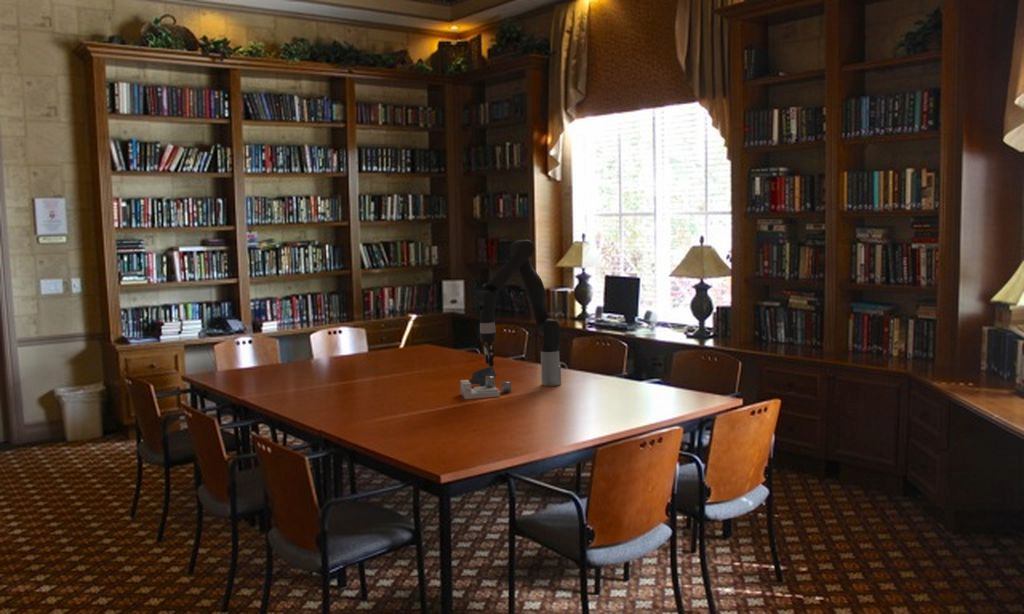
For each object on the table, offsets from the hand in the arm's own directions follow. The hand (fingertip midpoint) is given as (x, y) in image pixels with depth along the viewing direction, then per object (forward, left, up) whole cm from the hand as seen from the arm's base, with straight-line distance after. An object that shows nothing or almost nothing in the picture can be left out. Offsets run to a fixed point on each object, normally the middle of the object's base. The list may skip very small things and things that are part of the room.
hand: (489, 364), depth 437 cm
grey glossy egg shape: (0, 0, -11) cm, 11 cm away
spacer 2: (-8, 0, -14) cm, 16 cm away
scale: (+6, +3, -14) cm, 15 cm away
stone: (0, -21, -14) cm, 25 cm away
